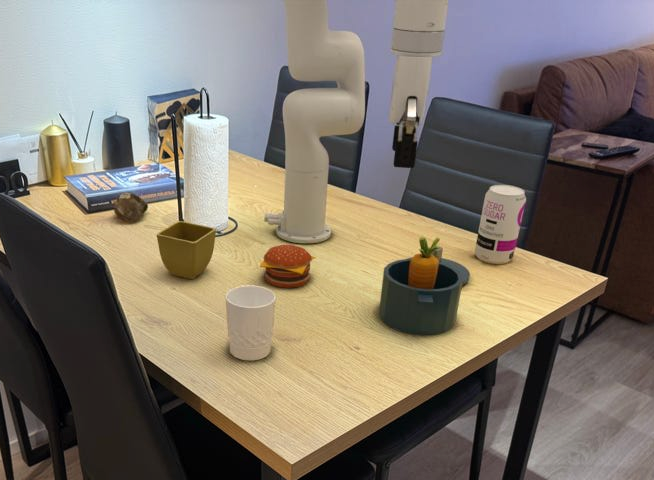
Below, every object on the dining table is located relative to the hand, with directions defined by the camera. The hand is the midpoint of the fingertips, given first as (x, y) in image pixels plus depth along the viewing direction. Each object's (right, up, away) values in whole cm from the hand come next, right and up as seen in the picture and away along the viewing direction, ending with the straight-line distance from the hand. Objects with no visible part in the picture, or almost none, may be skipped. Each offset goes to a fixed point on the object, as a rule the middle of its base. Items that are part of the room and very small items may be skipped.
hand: (402, 158), depth 111 cm
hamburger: (-18, -16, +27) cm, 36 cm away
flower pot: (-38, -15, +28) cm, 50 cm away
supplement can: (+27, -10, +39) cm, 48 cm away
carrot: (+5, -24, +14) cm, 29 cm away
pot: (+5, -25, +14) cm, 29 cm away
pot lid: (+12, -15, +30) cm, 35 cm away
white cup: (-25, -31, +3) cm, 40 cm away
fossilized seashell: (-55, +2, +55) cm, 78 cm away
